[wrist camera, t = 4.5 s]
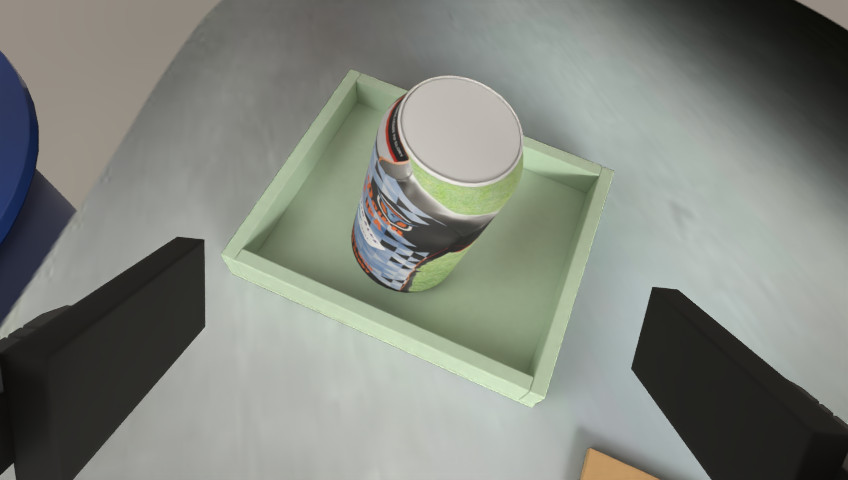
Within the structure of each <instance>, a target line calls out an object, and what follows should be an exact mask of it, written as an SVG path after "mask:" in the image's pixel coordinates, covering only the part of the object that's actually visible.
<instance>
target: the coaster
mask: <svg viewBox="0 0 848 480" xmlns="http://www.w3.org/2000/svg"><path fill="white" fill-rule="evenodd" d="M580 480H661V479H658V478H656V477H654V476H652V475H649V474H647V473H645V472H643V471H641V470H638V469H636V468H634V467H632V466H630V465H627V464H625V463H623V462H621V461H618V460H616V459H614V458H612V457H610V456H607V455H605V454H603V453H601V452H599V451H596V450H594V449H592V448H588V449H587V453H586V457H585V461H584V465H583V469H582V473H581V476H580Z"/></svg>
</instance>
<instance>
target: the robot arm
mask: <svg viewBox="0 0 848 480" xmlns="http://www.w3.org/2000/svg"><path fill="white" fill-rule="evenodd" d="M204 327H205V254H204V240H203V239H194V238H184V237H176V238H175V239H173V240H172V241H170V242H168V243H167V244H165V245H164V246H162V247H161V248H159V249H158V250H156V251H155V252H153V253H152V254H150V255H149V256H147V257H146V258H144V259H143V260H141V261H139V262H138V263H136V264H135V265H133V266H132V267H130V268H129V269H127V270H126V271H124V272H123V273H121V274H120V275H118V276H117V277H115V278H114V279H112V280H111V281H109V282H107V283H106V284H104V285H103V286H101V287H100V288H98V289H97V290H95V291H94V292H92V293H91V294H89V295H88V296H86V297H85V298H83V299H82V300H80V301H78V302H77V303H75V304H74V305H72V306H69V305H66V306H63V307H60V308H58V309H55V310H52V311H49V312H46V313H43V314H41V315H40V316H38V317H36V318H35V319H33V320H32V321H30V322H28V323H27V324H25V325H24V326H23V328H19V329H17V330H16V331H14V332H12V333H11V334H9V335H8V338H6V337H4V338H3V339H1V340H0V475H1V474H2V473H3V472H4V471H5V470H6V469H7V468H8V467H9V466H11V465H12V464H13V463H14V468H15V475H16V480H73V479H74V478H75V477H76V476H77V474H78V473H79V472H80V471H81V470H82V469H83V467H84V466H85V465H86V464H87V463H88V462H89V460H90V459H91V458H92V457H93V456H94V455H95V454H96V452H97V451H98V450H99V449H100V448H101V447H102V445H103V444H104V443H105V442H106V441H107V440H108V438H109V437H110V436H111V435H112V434H113V433H114V432H115V430H116V429H117V428H118V427H119V426H120V425H121V423H122V422H123V421H124V420H125V419H126V418H127V416H128V415H129V414H130V413H131V412H132V411H133V410H134V408H135V407H136V406H137V405H138V404H139V403H140V401H141V400H142V399H143V398H144V397H145V396H146V394H147V393H148V392H149V391H150V390H151V389H152V388H153V386H154V385H155V384H156V383H157V382H158V381H159V379H160V378H161V377H162V376H163V375H164V374H165V372H166V371H167V370H168V369H169V368H170V367H171V366H172V364H173V363H174V362H175V361H176V360H177V359H178V357H179V356H180V355H181V354H182V353H183V352H184V350H185V349H186V348H187V347H188V346H189V345H190V344H191V342H192V341H193V340H194V339H195V338H196V337H197V335H198V334H199V333H200V332H201V331H202V330H203V328H204ZM631 369H632V371H633V372H634V373H635V375H636V376H637V377H638V379H639V380H640V382H641V383H642V384H643V386H644V387H645V388H646V390H647V391H648V393H649V394H650V395H651V397H652V398H653V400H654V401H655V402H656V404H657V405H658V406H659V408H660V409H661V411H662V412H663V413H664V415H665V416H666V418H667V419H668V420H669V422H670V423H671V424H672V426H673V427H674V429H675V430H676V431H677V433H678V434H679V436H680V437H681V438H682V440H683V441H684V442H685V444H686V445H687V447H688V448H689V449H690V451H691V452H692V453H693V455H694V456H695V458H696V459H697V460H698V462H699V463H700V465H701V466H702V467H703V469H704V470H705V471H706V473H707V474H708V476H709V477H710V478H711V480H848V425H847V424H846V423H845V422H844V421H842V420H841V419H840V418H839V417H837V416H833V413H832V412H831V411H830V410H829V409H828V408H826V407H825V406H824V405H823V404H819V401H818V400H817V399H815V398H814V397H813V396H812V395H810V394H809V393H808V392H807V391H805V390H804V389H803V388H802V387H800V386H798V385H796V384H795V383H793V382H791V381H789V380H787V379H786V378H784V377H783V376H782V375H781V374H780V373H778V372H777V371H776V370H775V369H773V368H772V367H771V366H770V365H769V364H767V363H766V362H765V361H764V360H763V359H761V358H760V357H759V356H758V355H756V354H755V353H754V352H753V351H752V350H750V349H749V348H748V347H747V346H746V345H744V344H743V343H742V342H741V341H740V340H738V339H737V338H736V337H735V336H733V335H732V334H731V333H730V332H729V331H727V330H726V329H725V328H724V327H723V326H721V325H720V324H719V323H718V322H716V321H715V320H714V319H713V318H712V317H710V316H709V315H708V314H707V313H706V312H704V311H703V310H702V309H701V308H700V307H698V306H697V305H696V304H695V303H693V302H692V301H691V300H690V299H689V298H687V297H686V296H685V295H684V294H683V293H681V292H680V291H679V290H677V289H668V288H658V287H652V291H651V295H650V298H649V302H648V306H647V310H646V314H645V318H644V321H643V325H642V329H641V333H640V337H639V340H638V344H637V348H636V352H635V356H634V360H633V363H632V367H631Z"/></svg>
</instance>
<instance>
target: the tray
mask: <svg viewBox="0 0 848 480" xmlns="http://www.w3.org/2000/svg"><path fill="white" fill-rule="evenodd" d="M407 92H409V91H407V90H404V89H402V88H399V87H397V86H394V85H391V84H389V83H386V82H384V81H381V80H379V79H376V78H373V77H371V76H368V75H366V74H363V73H362V74H361V73H360V72H357V71H355V70H352V69H350V70H349V72H348V73H347V75H346V76H345V78H344V79H343V80H342V82H341V83H340V85H339V86H338V88H337V89H336V90H335V92H334V93H333V95H332V96H331V98H330V99H329V100H328V102H327V103H326V105H325V106H324V108H323V109H322V110H321V112H320V113H319V115H318V116H317V118H316V119H315V120H314V122H313V123H312V125H311V126H310V128H309V129H308V130H307V132H306V133H305V135H304V136H303V138H302V139H301V140H300V142H299V143H298V145H297V146H296V148H295V149H294V150H293V152H292V153H291V155H290V156H289V158H288V159H287V160H286V162H285V163H284V165H283V166H282V168H281V169H280V170H279V172H278V173H277V175H276V176H275V178H274V179H273V180H272V182H271V183H270V185H269V186H268V188H267V189H266V190H265V192H264V193H263V195H262V196H261V198H260V199H259V200H258V202H257V203H256V205H255V206H254V208H253V209H252V210H251V212H250V213H249V215H248V216H247V218H246V219H245V221H244V222H243V223H242V225H241V226H240V228H239V229H238V231H237V232H236V233H235V235H234V236H233V238H232V239H231V241H230V242H229V243H228V245H227V246H226V248H225V249H224V251H223V252H222V253H221V256H222V258H223V259H224V261H225V263H226V264H227V266H228V268H229V269H230V271H231V273H232V274H234V275H236V276H239V277H241V278H243V279H245V280H247V281H250V282H252V283H254V284H256V285H259V286H261V287H263V288H265V289H268V290H270V291H272V292H274V293H276V294H279V295H281V296H283V297H285V298H288V299H290V300H292V301H294V302H296V303H299V304H301V305H303V306H305V307H308V308H310V309H312V310H314V311H317V312H319V313H321V314H323V315H325V316H328V317H330V318H332V319H334V320H337V321H339V322H341V323H343V324H346V325H348V326H350V327H352V328H354V329H357V330H359V331H361V332H363V333H366V334H368V335H370V336H372V337H375V338H377V339H379V340H381V341H383V342H386V343H388V344H390V345H392V346H395V347H397V348H399V349H401V350H404V351H406V352H408V353H410V354H412V355H415V356H417V357H419V358H421V359H424V360H426V361H428V362H430V363H432V364H435V365H437V366H439V367H441V368H444V369H446V370H448V371H450V372H453V373H455V374H457V375H459V376H461V377H464V378H466V379H468V380H470V381H473V382H475V383H477V384H479V385H482V386H484V387H486V388H488V389H490V390H493V391H495V392H497V393H499V394H502V395H504V396H506V397H508V398H511V399H513V400H515V401H517V402H519V403H522V404H524V405H526V406H528V407H531V408H532V407H533V406H534V405H536V404H537V403H538V402H540V401H541V400H543V399H544V398H545V396H546V393H547V389H548V386H549V383H550V380H551V376H552V373H553V370H554V367H555V363H556V360H557V357H558V354H559V350H560V347H561V344H562V341H563V337H564V334H565V331H566V327H567V324H568V321H569V318H570V314H571V311H572V308H573V305H574V301H575V298H576V295H577V292H578V288H579V285H580V282H581V279H582V275H583V272H584V269H585V266H586V262H587V259H588V256H589V252H590V249H591V246H592V243H593V239H594V236H595V233H596V230H597V226H598V223H599V220H600V217H601V213H602V210H603V207H604V204H605V200H606V197H607V194H608V191H609V187H610V184H611V181H612V177H613V174H614V171H613V170H610V169H608V168H605V167H602V166H601V165H598V164H595V163H593V162H590V161H588V160H585V159H583V158H580V157H577V156H575V155H572V154H570V153H567V152H564V151H562V150H559V149H557V148H554V147H552V146H549V145H546V144H544V143H541V142H539V141H536V140H534V139H531V138H528V137H526V136H523V170H522V175H521V179H520V182H519V184H518V186H517V188H516V190H515V192H514V193H513V194H512V196H511V197H510V198H509V200H508V201H507V202H506V203H505V205H504V206H503V207H502V208H501V210H500V211H499V212H498V213H497V215H496V216H495V217H494V218H493V220H492V221H491V222H490V223H489V225H488V226H487V227H486V228H485V230H484V231H483V232H482V233H481V235H480V236H479V237H478V239H477V240H476V241H475V242H474V244H473V245H472V246H471V247H470V249H469V250H468V251H467V252H466V254H465V255H464V256H463V257H462V259H461V260H460V261H459V262H458V264H457V265H456V266H455V267H454V269H453V270H452V271H451V272H450V274H449V275H448V276H447V277H446V278H445V279H444V280H443V281H442V282H441V283H439V284H438V285H436V286H434V287H433V288H430V289H428V290H425V291H421V292H415V293H404V292H397V291H393V290H390V289H387V288H385V287H383V286H381V285H379V284H377V283H376V282H375V281H373V280H372V279H371V278H369V277H368V275H367V274H366V273H365V272H364V271H363V270H362V269H361V267H360V266H359V264H358V262H357V260H356V258H355V256H354V253H353V249H352V243H351V234H352V228H353V223H354V220H355V216H356V212H357V208H358V204H359V200H360V196H361V193H362V189H363V185H364V181H365V177H366V173H367V169H368V166H369V162H370V158H371V154H372V150H373V146H374V142H375V139H376V135H377V131H378V128H379V125H380V122H381V120H382V117H383V116H384V114H385V113H386V111H387V110H388V108H389V107H390V106H391V105H392V104H393V103H394V102H395V101H396V100H397V99H398V98H399V97H401V96H403V95H404V94H406V93H407Z"/></svg>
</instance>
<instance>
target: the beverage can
mask: <svg viewBox="0 0 848 480" xmlns="http://www.w3.org/2000/svg"><path fill="white" fill-rule="evenodd" d="M522 170H523V131H522V127H521V124H520V121H519V119H518V117H517V115H516V113H515V112H514V110H513V108H512V107H511V106H510V105H509V103H508V102H507V101H506V100H505V99H504V98H503V97H502V96H501V95H500V94H498V93H497V92H496V91H494V90H493V89H491V88H490V87H488V86H486V85H484V84H483V83H480V82H478V81H475V80H473V79H469V78H465V77H461V76H451V75H449V76H438V77H433V78H430V79H427V80H425V81H422V82H420V83H419V84H417V85H416V86H414V87H413V88H412V89H411V90H410V91H409V92H407V93H406V94H404V95H403V96H401V97H399V98H398V99H397V100H396V101H395V102H394V103H393V104H392V105H391V106H390V107H389V108H388V110H387V111H386V113H385V114H384V116H383V117H382V120H381V122H380V125H379V128H378V131H377V135H376V139H375V142H374V146H373V150H372V154H371V158H370V162H369V166H368V169H367V173H366V177H365V181H364V185H363V189H362V193H361V196H360V200H359V204H358V208H357V212H356V216H355V220H354V223H353V228H352V234H351V243H352V249H353V253H354V256H355V258H356V260H357V262H358V264H359V266H360V267H361V269H362V270H363V271H364V272H365V273H366V274H367V275H368V277H369V278H371V279H372V280H373V281H375V282H376V283H377V284H379V285H381V286H383V287H385V288H387V289H390V290H393V291H397V292H404V293H415V292H421V291H425V290H428V289H430V288H433V287H434V286H436V285H438V284H439V283H441V282H442V281H443V280H444V279H445V278H446V277H447V276H448V275H449V274H450V272H451V271H452V270H453V269H454V267H455V266H456V265H457V264H458V262H459V261H460V260H461V259H462V257H463V256H464V255H465V254H466V252H467V251H468V250H469V249H470V247H471V246H472V245H473V244H474V242H475V241H476V240H477V239H478V237H479V236H480V235H481V233H482V232H483V231H484V230H485V228H486V227H487V226H488V225H489V223H490V222H491V221H492V220H493V218H494V217H495V216H496V215H497V213H498V212H499V211H500V210H501V208H502V207H503V206H504V205H505V203H506V202H507V201H508V200H509V198H510V197H511V196H512V194H513V193H514V192H515V190H516V188H517V186H518V184H519V182H520V179H521V175H522Z"/></svg>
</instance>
